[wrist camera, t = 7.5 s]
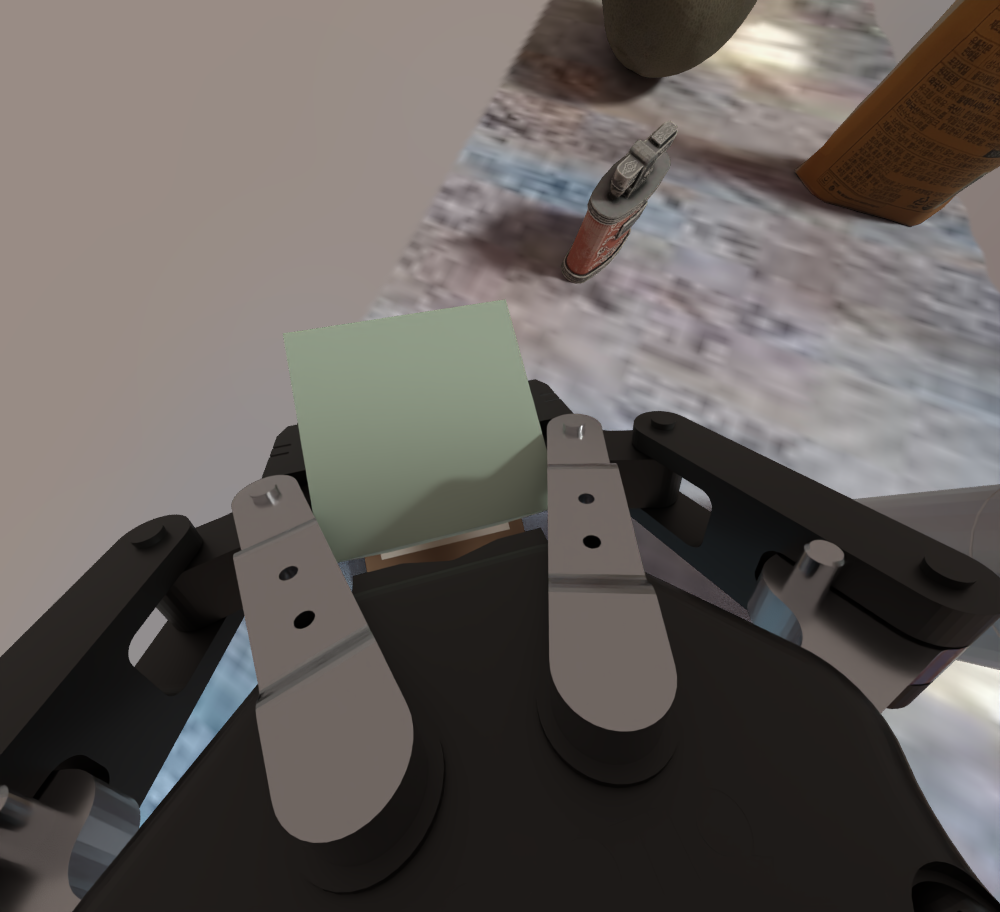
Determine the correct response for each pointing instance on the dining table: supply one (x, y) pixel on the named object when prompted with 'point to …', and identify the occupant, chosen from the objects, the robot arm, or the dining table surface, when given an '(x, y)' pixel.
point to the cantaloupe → (670, 32)
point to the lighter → (618, 204)
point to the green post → (416, 428)
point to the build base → (444, 547)
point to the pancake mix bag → (920, 124)
